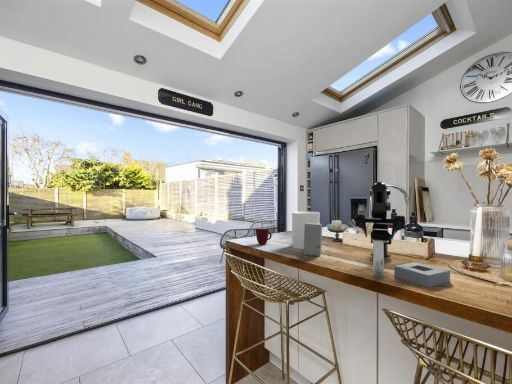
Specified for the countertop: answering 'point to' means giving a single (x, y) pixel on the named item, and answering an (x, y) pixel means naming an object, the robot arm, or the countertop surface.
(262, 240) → the mug
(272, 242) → the countertop surface
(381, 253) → the steel peg
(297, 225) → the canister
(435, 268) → the hole block
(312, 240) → the skincare box
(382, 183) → the robot arm
